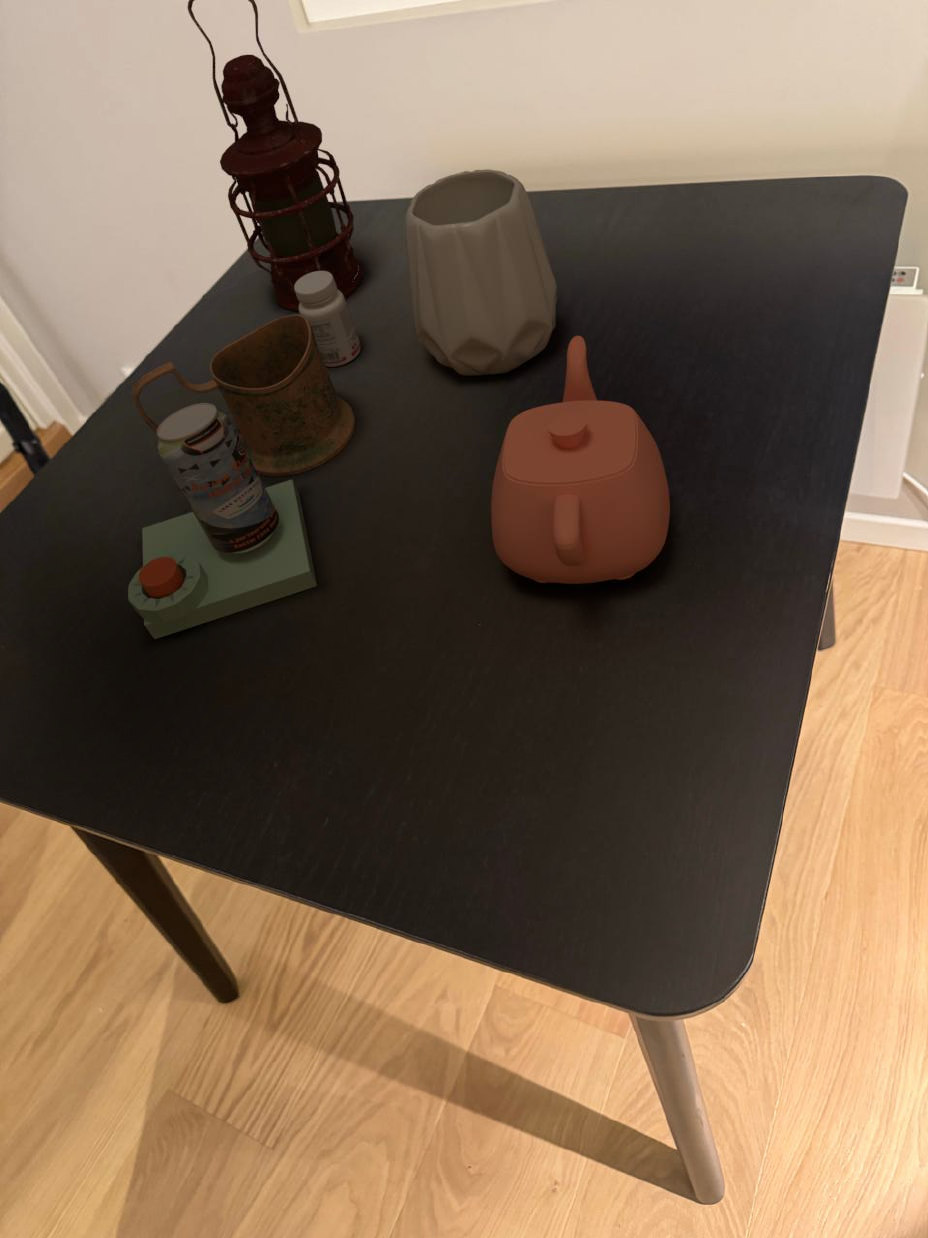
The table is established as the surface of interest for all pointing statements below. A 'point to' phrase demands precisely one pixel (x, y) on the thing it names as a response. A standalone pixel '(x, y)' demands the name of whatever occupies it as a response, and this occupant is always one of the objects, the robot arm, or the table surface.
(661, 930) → the table surface
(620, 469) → the teapot
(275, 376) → the mug
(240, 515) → the beverage can
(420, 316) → the vase
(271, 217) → the lantern
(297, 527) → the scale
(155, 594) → the button
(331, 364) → the pill bottle
